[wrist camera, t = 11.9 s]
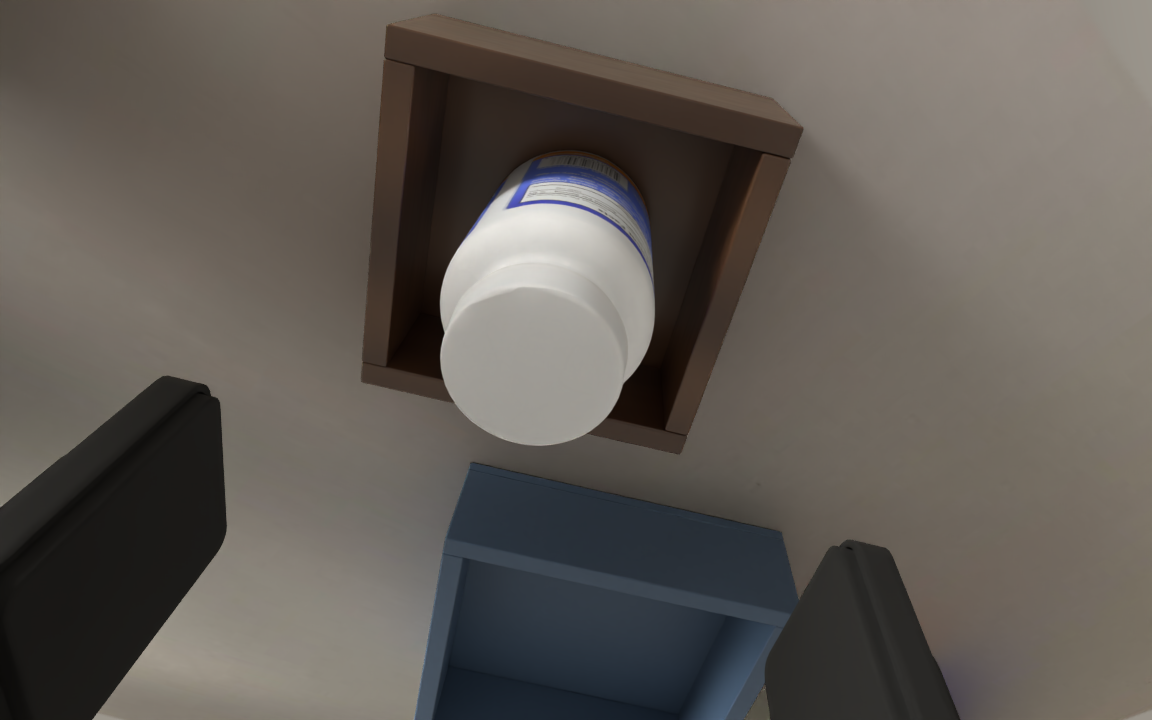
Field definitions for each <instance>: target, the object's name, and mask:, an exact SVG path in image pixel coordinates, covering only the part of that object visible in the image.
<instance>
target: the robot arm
mask: <svg viewBox="0 0 1152 720" xmlns="http://www.w3.org/2000/svg"><path fill="white" fill-rule="evenodd" d="M226 529H227V522H226V504H225V485H224V466H223V447H222V428H221V409H220V402H219V400H218V398H216V397H212V396H211V393H210V390H209V388H208V386H206V385H204V384H201V383H196V382H192V381H188V380H184V379H180V378H176V377H171V376H162V377H161V378H159V379H157V380H156V381H155V382H154V383H152V384H151V385H150V386H149V387H147V388H146V389H145V390H144V391H143V392H141V393H140V394H139V395H138V396H137V397H135V398H134V399H133V400H132V401H131V402H129V403H128V404H127V405H126V406H125V407H123V408H122V409H121V410H120V411H118V412H117V413H116V414H115V415H114V416H112V417H111V418H110V419H109V420H108V421H106V422H105V423H104V424H103V425H102V426H100V427H99V428H98V429H97V430H95V431H94V432H93V433H92V434H91V435H89V436H88V437H87V438H86V439H85V440H83V441H82V442H81V443H80V444H79V445H77V446H76V447H75V448H74V449H73V450H71V451H70V452H69V453H68V454H66V455H65V456H63V457H62V458H60V459H59V460H58V461H56V462H55V463H54V464H53V465H51V466H50V467H49V468H48V469H47V470H45V471H44V472H43V473H42V474H41V475H39V476H38V477H37V478H36V479H34V480H33V481H32V482H31V483H30V484H28V485H27V486H26V487H25V488H24V489H22V490H21V491H20V492H19V493H17V494H16V495H15V496H14V497H13V498H11V499H10V500H9V501H8V502H7V503H5V504H4V505H3V506H2V507H1V508H0V720H92V719H93V718H94V716H95V715H96V714H97V713H98V711H99V710H100V709H101V707H102V706H103V705H104V703H105V702H106V701H107V699H108V698H109V696H110V695H111V694H112V692H113V691H114V690H115V688H116V687H117V686H118V684H119V683H120V682H121V680H122V679H123V678H124V676H125V675H126V674H127V672H128V671H129V670H130V668H131V667H132V666H133V664H134V663H135V662H136V660H137V659H138V658H139V656H140V655H141V654H142V652H143V651H144V650H145V648H146V647H147V646H148V644H149V643H150V642H151V640H152V639H153V638H154V636H155V635H156V634H157V632H158V631H159V630H160V628H161V627H162V626H163V624H164V623H165V622H166V620H167V619H168V618H169V616H170V615H171V614H172V612H173V611H174V610H175V608H176V607H177V606H178V604H179V603H180V602H181V600H182V599H183V598H184V596H185V595H186V594H187V592H188V591H189V590H190V588H191V587H192V586H193V584H194V583H195V582H196V580H197V579H198V578H199V576H200V575H201V574H202V572H203V571H204V570H205V568H206V567H207V566H208V564H209V563H210V562H211V560H212V559H213V558H214V556H215V555H216V554H217V552H218V551H219V549H220V547H221V545H222V543H223V541H224V538H225V535H226ZM764 676H765V685H766V692H767V698H768V705H769V711H770V718H771V720H960V718H959V715H958V713H957V710H956V708H955V705H954V703H953V700H952V698H951V695H950V693H949V690H948V688H947V685H946V683H945V680H944V678H943V675H942V673H941V671H940V668H939V666H938V664H937V662H936V661H935V659H934V657H933V656H932V654H931V651H930V649H929V646H928V644H927V641H926V639H925V636H924V634H923V631H922V629H921V626H920V624H919V621H918V619H917V616H916V614H915V611H914V609H913V606H912V604H911V601H910V599H909V596H908V594H907V591H906V589H905V586H904V584H903V581H902V579H901V576H900V574H899V571H898V569H897V566H896V564H895V561H894V559H893V556H892V555H891V553H890V551H889V550H887V549H886V548H884V547H879V546H875V545H871V544H867V543H863V542H859V541H854V540H846V541H844V542H843V543H842V544H841V545H840V547H838V546H832V547H830V548H829V550H828V551H827V553H826V554H825V556H824V558H823V560H822V561H821V563H820V565H819V567H818V568H817V570H816V572H815V574H814V575H813V577H812V579H811V581H810V582H809V584H808V586H807V588H806V589H805V591H804V593H803V595H802V596H801V598H800V600H799V602H798V603H797V605H796V607H795V609H794V610H793V612H792V614H791V616H790V617H789V619H788V621H787V623H786V624H785V626H784V628H783V630H782V632H781V633H780V635H779V637H778V639H777V640H776V642H775V644H774V646H773V647H772V649H771V651H770V653H769V655H768V657H767V660H766V664H765V675H764Z"/></svg>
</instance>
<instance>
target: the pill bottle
mask: <svg viewBox="0 0 1152 720" xmlns="http://www.w3.org/2000/svg"><path fill="white" fill-rule="evenodd" d="M440 313H441V321H442V325H443V329H444V332H445V334H444V338H443V341H442V345H441V353H440V362H441V371H442V376H443V379H444V383H445V386H446V388H447V390H448V392H449V395H450V396H451V398H452V399H453V401H454V402H455V404H456V405H457V407H458V408H459V409H460V410H461V411H462V413H463V414H464V415H465V416H466V417H467V418H468V419H469V420H470V421H472V422H473V423H474V424H476V425H477V426H479V427H480V428H482V429H483V430H485V431H487V432H488V433H490V434H492V435H494V436H496V437H499V438H501V439H504V440H507V441H510V442H514V443H518V444H524V445H534V446H545V445H554V444H560V443H564V442H567V441H571V440H573V439H576V438H578V437H581V436H583V435H585V434H586V433H588V432H590V431H591V430H593V429H594V428H595V427H596V426H598V425H599V424H600V423H601V422H602V421H603V420H604V419H605V418H606V417H607V416H608V414H609V413H610V412H611V411H612V409H613V407H614V406H615V404H616V402H617V400H618V398H619V396H620V392H621V390H622V386H623V383H624V382H625V381H626V380H627V379H628V378H630V376H631V375H632V374H633V373H634V372H635V370H636V369H637V368H638V366H639V365H640V363H641V361H642V359H643V358H644V356H645V354H646V352H647V349H648V347H649V344H650V341H651V337H652V333H653V328H654V319H655V294H654V279H653V263H652V242H651V227H650V219H649V215H648V211H647V208H646V205H645V202H644V200H643V197H642V195H641V193H640V191H639V190H638V188H637V186H636V185H635V183H634V182H633V181H632V180H631V179H630V177H629V176H628V175H627V174H626V173H625V172H624V171H623V170H622V169H620V168H619V167H618V166H616V165H615V164H613V163H612V162H610V161H609V160H607V159H605V158H603V157H600V156H598V155H595V154H592V153H588V152H583V151H576V150H562V151H555V152H549V153H546V154H542V155H540V156H537V157H534V158H532V159H530V160H528V161H527V162H525V163H523V164H522V165H520V166H519V167H518V168H516V169H515V170H514V171H513V172H512V173H511V174H510V175H509V176H508V177H507V178H506V179H505V180H504V181H503V182H502V183H501V185H500V186H499V187H498V189H497V190H496V192H495V193H494V195H493V196H492V198H491V200H490V201H489V203H488V204H487V206H486V208H485V209H484V211H483V212H482V213H481V215H480V217H479V218H478V220H477V221H476V222H475V224H474V225H473V227H472V228H471V230H470V231H469V233H468V234H467V236H466V237H465V239H464V240H463V242H462V243H461V245H460V246H459V248H458V249H457V251H456V253H455V254H454V256H453V258H452V259H451V261H450V264H449V266H448V268H447V271H446V273H445V276H444V280H443V283H442V288H441V295H440Z"/></svg>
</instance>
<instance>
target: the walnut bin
mask: <svg viewBox="0 0 1152 720" xmlns="http://www.w3.org/2000/svg"><path fill="white" fill-rule="evenodd" d="M384 57H385V58H386V59H384V67H383V80H382V94H381V107H380V121H379V135H378V148H377V162H376V175H375V189H374V203H373V216H372V230H371V244H370V257H369V271H368V284H367V298H366V312H365V325H364V339H363V352H362V361H363V362H362V371H361V382H363V383H367V384H372V385H376V386H381V387H385V388H389V389H394V390H398V391H402V392H407V393H411V394H416V395H420V396H424V397H429V398H433V399H438V400H442V401H446V402H451V403H455V402H454V401H453V399H452V398H451V396H450V395H449V392H448V390H447V388H446V386H445V383H444V379H443V376H442V371H441V362H440V353H441V345H442V341H443V338H444V334H445V332H444V329H443V325H442V321H441V313H440V295H441V288H442V283H443V280H444V276H445V273H446V271H447V268H448V266H449V264H450V261H451V259H452V258H453V256H454V254H455V253H456V251H457V249H458V248H459V246H460V245H461V243H462V242H463V240H464V239H465V237H466V236H467V234H468V233H469V231H470V230H471V228H472V227H473V225H474V224H475V222H476V221H477V220H478V218H479V217H480V215H481V213H482V212H483V211H484V209H485V208H486V206H487V204H488V203H489V201H490V200H491V198H492V196H493V195H494V193H495V192H496V190H497V189H498V187H499V186H500V185H501V183H502V182H503V181H504V180H505V179H506V178H507V177H508V176H509V175H510V174H511V173H512V172H513V171H514V170H515V169H516V168H518V167H519V166H520V165H522V164H523V163H525V162H527V161H528V160H530V159H532V158H534V157H537V156H540V155H542V154H546V153H549V152H555V151H562V150H576V151H583V152H588V153H592V154H595V155H598V156H600V157H603V158H605V159H607V160H609V161H610V162H612V163H613V164H615V165H616V166H618V167H619V168H620V169H622V170H623V171H624V172H625V173H626V174H627V175H628V176H629V177H630V179H631V180H632V181H633V182H634V183H635V185H636V186H637V188H638V190H639V191H640V193H641V195H642V197H643V200H644V202H645V205H646V208H647V211H648V215H649V219H650V227H651V242H652V263H653V279H654V294H655V319H654V328H653V333H652V337H651V341H650V344H649V347H648V349H647V352H646V354H645V356H644V358H643V359H642V361H641V363H640V365H639V366H638V368H637V369H636V370H635V372H634V373H633V374H632V375H631V376H630V378H628V379H627V380H626V381H625V382H624V383H623V386H622V390H621V392H620V396H619V398H618V400H617V402H616V404H615V406H614V407H613V409H612V411H611V412H610V413H609V414H608V416H607V417H606V418H605V419H604V420H603V421H602V422H601V423H600V424H599V425H598V426H596V427H595V428H594V429H593V430H591V431H590V432H588V433H587V434H591V435H596V436H600V437H604V438H609V439H613V440H617V441H622V442H626V443H631V444H635V445H639V446H644V447H648V448H653V449H657V450H661V451H666V452H670V453H674V454H681V452H682V450H683V447H684V444H685V442H686V439H687V435H688V433H689V431H690V429H691V426H692V423H693V421H694V418H695V415H696V413H697V410H698V407H699V405H700V402H701V399H702V397H703V394H704V391H705V389H706V386H707V383H708V381H709V378H710V375H711V373H712V370H713V367H714V365H715V362H716V360H717V357H718V354H719V352H720V349H721V346H722V344H723V341H724V338H725V336H726V333H727V330H728V328H729V325H730V322H731V320H732V317H733V314H734V312H735V309H736V306H737V304H738V301H739V298H740V296H741V293H742V290H743V288H744V285H745V283H746V280H747V277H748V275H749V272H750V269H751V267H752V264H753V261H754V259H755V256H756V253H757V251H758V248H759V245H760V243H761V240H762V237H763V235H764V232H765V229H766V227H767V224H768V221H769V219H770V216H771V213H772V211H773V208H774V205H775V203H776V200H777V198H778V195H779V192H780V190H781V187H782V184H783V182H784V179H785V176H786V174H787V171H788V168H789V166H790V163H791V158H793V156H794V154H795V151H796V148H797V146H798V143H799V140H800V138H801V135H802V132H803V127H802V126H801V125H800V124H799V123H798V122H797V121H796V120H795V119H794V118H793V117H792V116H791V115H790V114H788V113H787V112H786V111H785V110H784V109H783V108H782V107H781V106H780V105H779V104H778V103H777V102H776V101H775V100H774V99H773V98H770V97H766V96H762V95H758V94H754V93H750V92H746V91H742V90H738V89H734V88H730V87H726V86H722V85H718V84H714V83H710V82H706V81H702V80H698V79H694V78H690V77H686V76H682V75H678V74H674V73H670V72H666V71H662V70H658V69H654V68H650V67H646V66H642V65H638V64H634V63H630V62H626V61H622V60H618V59H614V58H610V57H606V56H602V55H598V54H594V53H590V52H586V51H582V50H578V49H574V48H570V47H566V46H562V45H558V44H554V43H550V42H546V41H542V40H538V39H534V38H530V37H526V36H522V35H518V34H514V33H510V32H506V31H502V30H498V29H494V28H490V27H486V26H482V25H478V24H474V23H471V22H467V21H463V20H459V19H455V18H451V17H447V16H443V15H439V14H431V15H426V16H422V17H417V18H413V19H408V20H404V21H399V22H395V23H390V24H387V26H386V39H385V53H384Z"/></svg>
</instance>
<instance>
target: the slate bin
mask: <svg viewBox="0 0 1152 720" xmlns="http://www.w3.org/2000/svg"><path fill="white" fill-rule="evenodd" d="M798 602H799V599H798V595H797V591H796V587H795V583H794V580H793V576H792V572H791V568H790V564H789V560H788V556H787V552H786V548H785V544H784V541H783V536H782V532H779V531H774V530H770V529H766V528H761V527H757V526H752V525H748V524H743V523H739V522H734V521H730V520H725V519H721V518H717V517H712V516H708V515H703V514H699V513H694V512H690V511H685V510H681V509H677V508H672V507H668V506H663V505H659V504H654V503H650V502H645V501H641V500H636V499H632V498H628V497H623V496H619V495H614V494H610V493H605V492H601V491H596V490H592V489H587V488H583V487H579V486H574V485H570V484H565V483H561V482H556V481H552V480H547V479H543V478H539V477H534V476H530V475H525V474H521V473H516V472H512V471H507V470H503V469H498V468H494V467H490V466H485V465H481V464H476V463H470V466H469V469H468V472H467V475H466V478H465V481H464V484H463V487H462V490H461V493H460V496H459V499H458V502H457V505H456V508H455V511H454V513H453V516H452V519H451V522H450V525H449V528H448V531H447V534H446V537H445V542H444V547H443V553H442V559H441V565H440V571H439V577H438V583H437V588H436V594H435V600H434V606H433V612H432V618H431V624H430V629H429V635H428V641H427V647H426V653H425V659H424V665H423V670H422V676H421V682H420V688H419V694H418V700H417V706H416V711H415V717H414V720H744V718H745V717H746V715H747V713H748V712H749V710H750V708H751V706H752V705H753V703H754V701H755V699H756V698H757V696H758V694H759V693H760V691H761V689H762V687H763V686H764V684H765V676H764V675H765V664H766V660H767V657H768V655H769V653H770V651H771V649H772V647H773V646H774V644H775V642H776V640H777V639H778V637H779V635H780V633H781V632H782V630H783V628H784V626H785V624H786V623H787V621H788V619H789V617H790V616H791V614H792V612H793V610H794V609H795V607H796V605H797V603H798Z"/></svg>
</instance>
